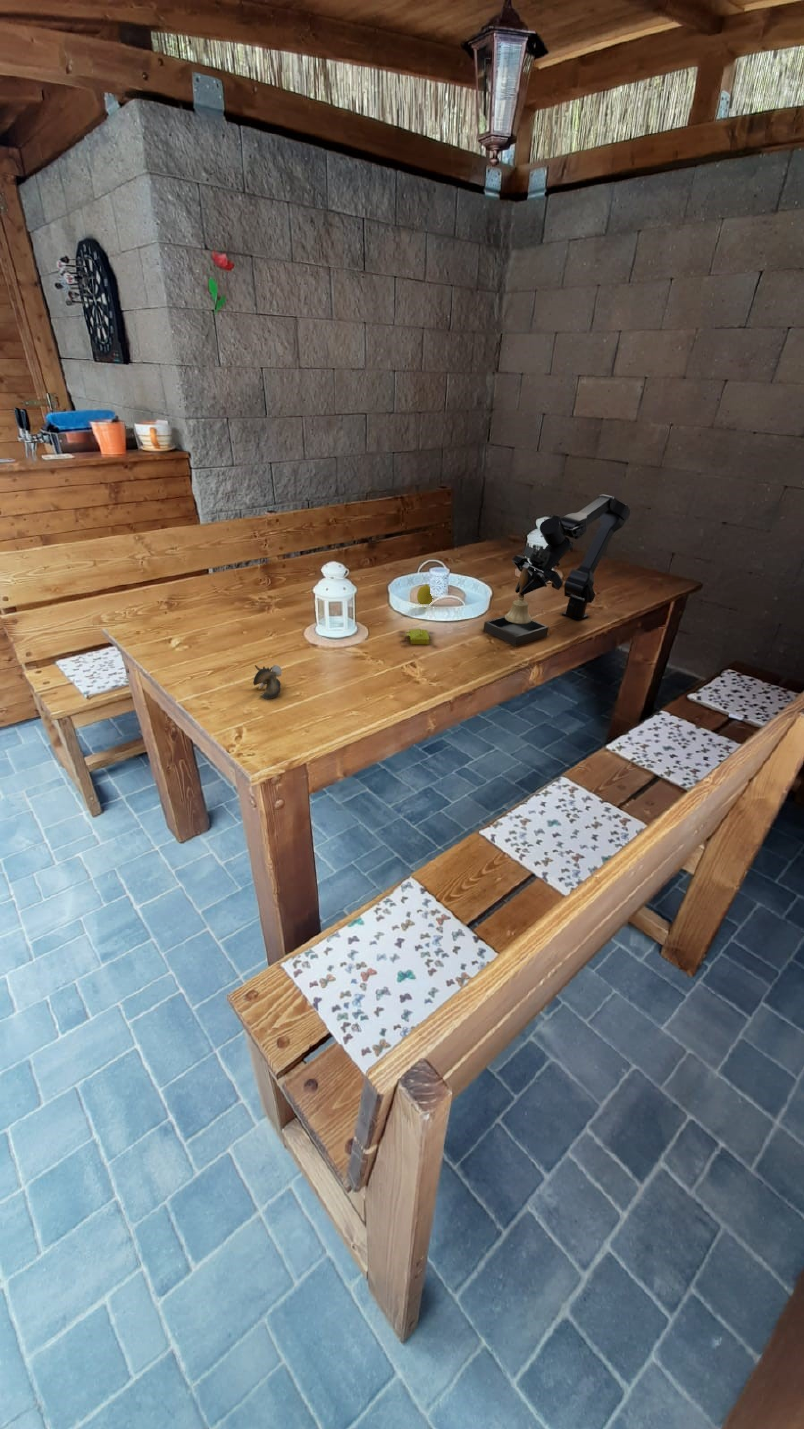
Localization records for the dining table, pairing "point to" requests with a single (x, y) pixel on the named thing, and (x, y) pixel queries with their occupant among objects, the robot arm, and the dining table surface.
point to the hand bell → (520, 604)
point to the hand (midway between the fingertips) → (518, 593)
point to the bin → (515, 630)
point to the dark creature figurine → (268, 680)
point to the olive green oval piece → (424, 595)
